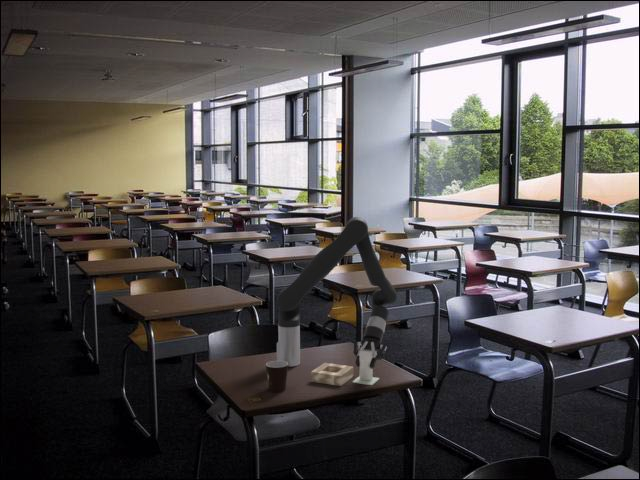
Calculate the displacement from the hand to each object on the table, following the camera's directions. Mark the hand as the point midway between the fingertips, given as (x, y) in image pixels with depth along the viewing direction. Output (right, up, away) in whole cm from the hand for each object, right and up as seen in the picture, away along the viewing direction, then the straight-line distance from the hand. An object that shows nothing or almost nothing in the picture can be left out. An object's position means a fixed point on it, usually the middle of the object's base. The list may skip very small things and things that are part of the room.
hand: (364, 366), depth 254 cm
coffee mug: (-34, -7, -5) cm, 35 cm away
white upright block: (0, -5, +1) cm, 5 cm away
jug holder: (-12, -6, +5) cm, 15 cm away
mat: (+1, -6, +2) cm, 6 cm away
